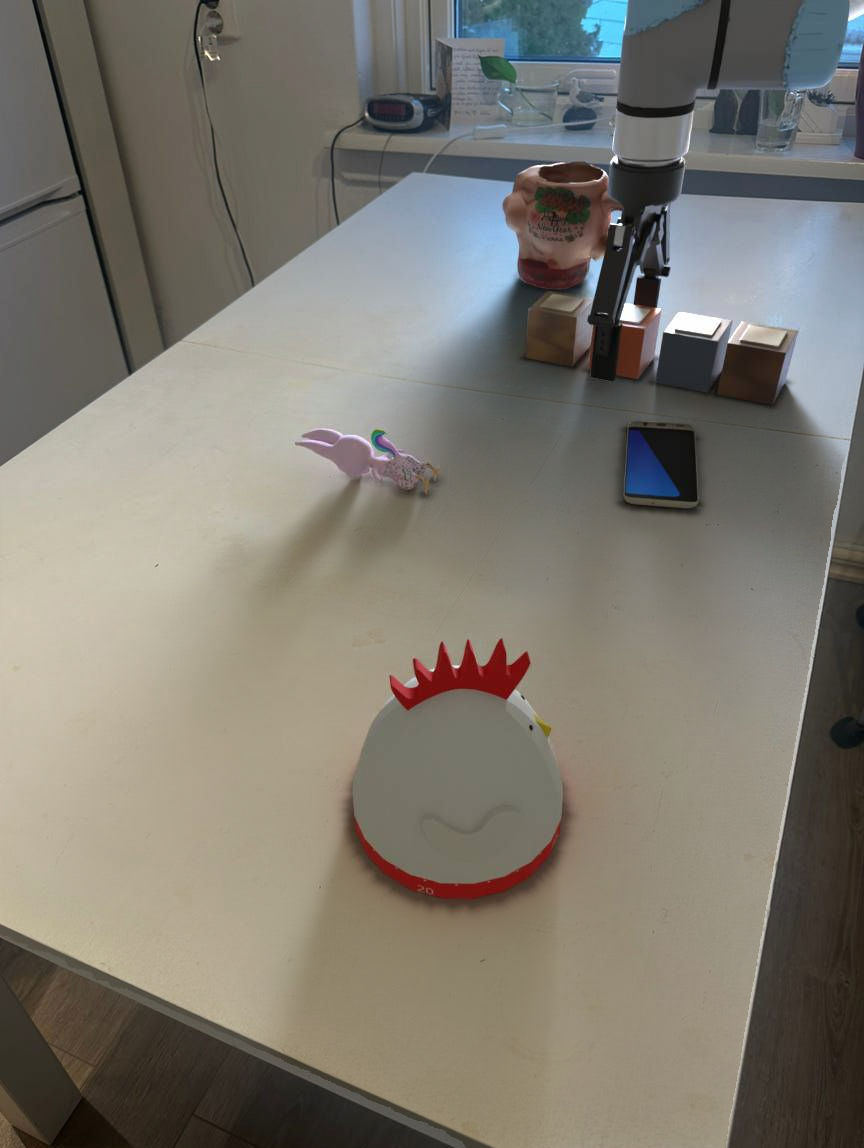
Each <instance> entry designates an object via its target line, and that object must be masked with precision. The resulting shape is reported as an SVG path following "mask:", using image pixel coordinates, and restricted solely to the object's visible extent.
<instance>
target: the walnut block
mask: <svg viewBox="0 0 864 1148" xmlns="http://www.w3.org/2000/svg"><path fill="white" fill-rule="evenodd" d="M798 335H799V330H798V329H792V328H791V329H790V328H785V327H778V326H773V325H765V324H761V323H753V322H748V321H747V322H746V321H741V323H740V324H739V326H738V327H737V328H736V330H735V331H734V333H733V335H732V336H731V338H729V340H728V344H727V349H726V354H725V358H724V363H723V368H722V371H721V373H720V378H719V382H718V388H717V393H716V394H717V396H722V397H726V398H727V397H728V398H732V399H733V398H734V399H739V400H744V401H749V402H753V403H759V404H765V405H768V406H769V405H770V406H774V403H775V402H776V400H777V398H778V396H779V394H780V392H781V390H782V389H783V387H784V385H785V383H786V380H787V376H788V372H789V370H790V369H789V368H790V365H791V361H792V357H793V355H794V350H795V345H796V341H797V338H798Z"/></svg>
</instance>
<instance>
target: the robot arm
mask: <svg viewBox="0 0 864 1148" xmlns="http://www.w3.org/2000/svg"><path fill="white" fill-rule="evenodd" d="M862 15H864V0H627V6H626V13H625V19H624V27H623V31H622V41H621V51H620V52H621V53H620V63H619V74H618V83H617V84H618V85H617V97H616V107H615V108H616V109H615V116H611V118H610V120H609V125H610V126H611V128H614V131H613V137H612V145H611V146H612V147H611V151H612V153H613V154H614V155H615V156H613V158H612V159H611V160H610V161H609V169H608V170H609V171H608V178H609V179H608V188H607V194H608V196H609V198H610V199H611V200H613V201H614V202H618V203H619V204H620V205H621V206H622V207H623V211H621V213H620V214H621V215H620V217H618V219H617V221H616V223H611V224H610V226H609V228H608V236H607V243H606V250H605V254H604V257H603V258H602V262H601V266H600V271H599V275H598V279H597V285H596V287H595V292H594V296H593V298H594V300H593V304H592V309H591V313H590V315H588V319H587V322H588V323H589V324H590V325H592V326H593V325H595V335H594V345H593V354H592V364H591V370H590V374H589V378H590V379H593V380H600V381H605V382H610V383H614V382H615V381H616V377H617V375H616V369H617V361H618V354H619V346H620V338H621V330H622V323H619V322H620V318H621V314H622V311H623V308H624V305H625V303H626V301H627V299H628V295H629V293H630V292H629V291H630V288H631V285H632V282H633V279H634V276H635V272H636V269H637V267H639V271H640V273H641V275H638V276H636V281H635V288H634V289H635V290H634V297H633V302H632V304H633V305H640V306H646V307H652V308H658V304H659V298H660V291H661V285H662V278H669V276H670V273H671V266H668V265H669V263H670V260H671V249H670V248H671V206H672V205H671V204H672V203H673V202H675V201H676V200H679V198H680V196H681V194H682V189H683V183H684V179H685V178H684V177H685V170H686V165H687V161H686V160H685V158H684V157H683V156H685V155H686V154H687V153H688V152H689V147H690V140H691V135H692V134H691V133H692V127H693V121H694V114H695V113H694V112H695V105H696V97H697V93H698V91H699V90H708V91H710V90H711V91H714V90H749V91H750V90H751V91H752V90H755V91H759V90H762V91H786V92H791V93H792V92H795V91H798V90H799V91H800V90H807V89H808V90H809V89H810V90H811V89H821V88H823V87H826V85H828V84H829V83H830V82H831V81H832V79H833V78H834V76H835V74H836V72H837V69H838V66H839V63H840V60H841V57H842V53H843V48H844V45H845V41H846V35H847V30H848V24H849V22H850V21H852V20H854V19H856V18H858V17H861V16H862ZM660 277H662V278H660ZM605 313H607V314H605Z"/></svg>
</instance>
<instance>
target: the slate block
mask: <svg viewBox="0 0 864 1148" xmlns="http://www.w3.org/2000/svg"><path fill="white" fill-rule="evenodd" d="M732 326H733V320H732V319H727V318H722V317H721V318H720V317H714V316H708V315H701V314H695V313H688V312H683V311H679V312H678V313H677V314H676V315H675V316H674V318H673V319H672V321H671V322H670V323H669V325H667V327H666V328H665V329H664V331H663V332H662V338H661V343H660V344H661V345H660V350H659V356H658V363H657V368H656V375H655V382H654V383H656V384H661V385H666V386H671V387H678V388H681V389H686V390H687V389H688V390H693V391H698V392H703V393H708V392H709V391H710V390H711V388H712V387H713V385H714V383H715V382H716V380H717V379H718V377H719V375H721V373H722V368H723V363H724V358H725V354H726V349H727V344H728V342H729V341H730V334H731V330H732Z"/></svg>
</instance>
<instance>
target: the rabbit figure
mask: <svg viewBox="0 0 864 1148" xmlns="http://www.w3.org/2000/svg"><path fill="white" fill-rule="evenodd" d="M386 434H387V435H388V432H386V430H383V429H380V428H378V429H374V430H373V431H372V433H371V435H370V442H371V443H372V445H371V443H370V442H369V441H368V440H367V439H365V438H363V437H361V436H360V435H359V436H358V435H355V434H346V435H343V434H342V433H341V432H339V431H337V430H333V429H331V428H324V427H323V428H316V429H315V428H314V429H312V430H309V431H307V432H305V433H303V434H302V435H300V438H301V439H303V440H298V441H295V442H294V445H295V446H300V447H304V448H305V449H307V450H310V451H312V452H313V453H315V454H317V455H319V456H320V457H323V458H325V459H327V460H330V461H331V462H333V464H334V465H335V466H336V467H337V468H338V470H340V471H341V472H342V473H344V474H346V475H348V476H349V477H351V478H361V477H362V476H363V475H364V474H369V473H370V469H371V474H372V478H373V479H374V481H375V483H377V484H381V483H382V482H383V479H382V477H384V478H391V479H392V480H393V481H394V482H395V484H397V486H399V487H400V489H403V490H405V491H409V490H413V489H415V488H416V487H417V485H418V482H419V481H421V482H423V484H424V493H425V494H426V495H428V492H427V491H428V490H429V489H430V478H427V480H425V479H424V478H423V477H424V474H425V472H426V471H427V470H428V469H430V470H431V471H432V472H433V481H437V477H439V469H438V468H439V467H440V465H437V466H436V467H435V466H433V464H431V463H430V461H426V462H421V461H419V460H417V459H416V458H415V457H414V456H412V455H411V454H406V453H405V450H404V449H403V448H400V449H397V448H396V446H395V445H394V444H393V443H392V442H391V441H390V440H388V439H387V438H386V437H384V435H386ZM373 447H374V448H373ZM374 449H376V450H377V451H379V452H382V453H383V452H384V453H385V454H383V455H381V456H378V457H377V456H375V451H374Z"/></svg>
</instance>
